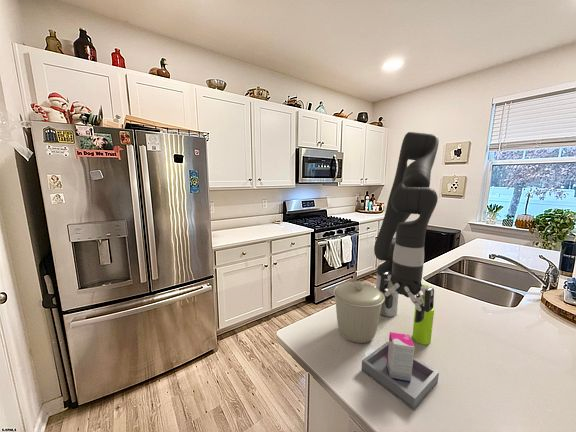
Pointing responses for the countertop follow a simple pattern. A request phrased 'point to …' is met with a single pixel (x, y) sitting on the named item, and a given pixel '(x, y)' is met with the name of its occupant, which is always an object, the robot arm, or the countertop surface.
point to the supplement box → (400, 357)
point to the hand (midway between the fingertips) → (402, 314)
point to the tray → (405, 391)
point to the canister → (358, 310)
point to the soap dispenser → (423, 326)
